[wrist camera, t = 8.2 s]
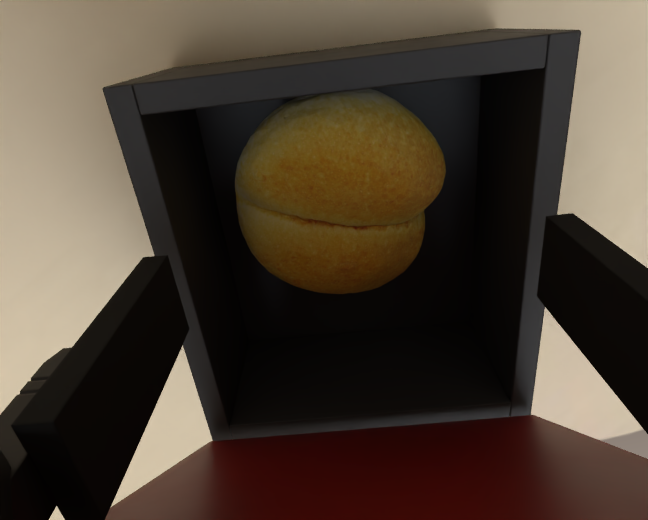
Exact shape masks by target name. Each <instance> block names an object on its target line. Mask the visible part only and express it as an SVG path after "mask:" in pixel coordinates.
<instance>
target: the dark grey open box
mask: <svg viewBox="0 0 648 520" xmlns="http://www.w3.org/2000/svg"><path fill="white" fill-rule="evenodd" d="M580 36H581V31H580V30H552V29H488V30H480V31H472V32H464V33H456V34H447V35H439V36H431V37H423V38H415V39H406V40H398V41H390V42H382V43H374V44H365V45H357V46H349V47H341V48H333V49H324V50H316V51H308V52H300V53H291V54H283V55H275V56H267V57H259V58H250V59H242V60H234V61H226V62H218V63H209V64H201V65H193V66H185V67H177V68H171V69H167V70H163V71H160V72H156V73H153V74H149V75H145V76H142V77H138V78H135V79H131V80H128V81H124V82H121V83H117V84H114V85H110V86H107V87H104V88H103V92H104V95H105V98H106V102H107V105H108V108H109V111H110V114H111V118H112V121H113V124H114V127H115V130H116V133H117V137H118V140H119V143H120V146H121V149H122V153H123V156H124V159H125V162H126V165H127V168H128V172H129V175H130V178H131V181H132V184H133V188H134V191H135V194H136V197H137V200H138V204H139V207H140V210H141V213H142V216H143V219H144V223H145V226H146V229H147V232H148V235H149V239H150V242H151V245H152V248H153V251H154V255H155V256H163V255H168V258H169V261H170V264H171V268H172V271H173V275H174V278H175V281H176V285H177V288H178V292H179V295H180V298H181V302H182V305H183V308H184V312H185V315H186V319H187V322H188V325H189V332H188V334H187V336H186V338H185V341H184V343H183V347H184V350H185V353H186V356H187V360H188V363H189V366H190V369H191V372H192V376H193V379H194V382H195V385H196V388H197V391H198V395H199V398H200V401H201V404H202V407H203V411H204V414H205V417H206V420H207V423H208V427H209V430H210V433H211V436H212V439H213V441H220V440H232V439H244V438H256V437H269V436H281V435H293V434H305V433H318V432H330V431H342V430H354V429H366V428H379V427H391V426H403V425H415V424H428V423H440V422H452V421H464V420H477V419H489V418H501V417H509V416H510V417H513V416H526V415H531V407H532V400H533V392H534V385H535V377H536V369H537V362H538V354H539V347H540V339H541V331H542V324H543V316H544V309H545V306H544V305H543V303H542V302H541V301H540V300H539V298H538V297H537V290H538V281H539V272H540V264H541V255H542V246H543V238H544V229H545V220H546V216H552V215H557V210H558V203H559V195H560V188H561V180H562V172H563V165H564V157H565V150H566V142H567V134H568V127H569V119H570V112H571V104H572V97H573V89H574V81H575V74H576V66H577V59H578V51H579V44H580ZM362 89H372V90H376V91H379V92H381V93H383V94H385V95H387V96H389V97H391V98H392V99H394V100H396V101H398V102H399V103H400V104H401V105H403V106H404V107H405V108H407V109H408V110H409V111H411V112H412V113H413V114H414V115H415V116H417V117H418V118H419V119H420V120H421V121H422V123H423V124H424V125H425V126H426V127H427V129H428V130H429V131H430V132H431V133H432V135H433V136H434V137H435V139H436V141H437V143H438V144H439V146H440V148H441V150H442V153H443V155H444V160H445V168H446V174H445V178H444V182H443V186H442V189H441V191H440V192H439V194H438V196H437V197H436V198H435V200H434V201H433V202H432V203H431V204H430V205H429V206H428V207H427V208H426V209H424V214H425V231H424V236H423V240H422V244H421V247H420V250H419V252H418V254H417V256H416V258H415V259H414V260H413V262H412V263H411V264H410V266H409V267H408V268H407V269H406V270H405V271H404V272H403V273H401V274H400V275H399V276H397V277H396V278H394V279H393V280H391V281H389V282H387V283H386V284H384V285H382V286H380V287H378V288H375V289H372V290H368V291H363V292H358V293H347V294H330V293H319V292H314V291H310V290H306V289H302V288H299V287H296V286H293V285H291V284H289V283H287V282H285V281H283V280H281V279H279V278H278V277H276V276H275V275H273V274H271V273H270V272H268V270H267V269H266V268H265V267H264V266H263V265H262V264H261V263H260V262H259V261H258V260H257V259H256V257H255V256H254V255H253V254H252V252H251V250H250V249H249V247H248V245H247V242H246V240H245V238H244V236H243V234H242V231H241V228H240V225H239V219H238V213H237V203H236V192H235V175H236V169H237V163H238V160H239V158H240V156H241V153H242V151H243V149H244V147H245V146H246V144H247V142H248V140H249V138H250V136H252V134H253V133H254V132H255V130H256V129H257V127H258V126H259V125H260V123H261V122H262V121H263V120H265V118H266V117H268V116H269V115H270V114H271V113H272V112H273V111H275V110H276V109H277V108H279V107H280V106H281V105H283V104H285V103H287V102H288V101H290V100H292V99H295V98H297V97H302V96H311V95H320V94H328V93H337V92H345V91H354V90H362Z"/></svg>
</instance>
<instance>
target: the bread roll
mask: <svg viewBox="0 0 648 520" xmlns="http://www.w3.org/2000/svg"><path fill="white" fill-rule="evenodd" d="M445 174H446V168H445V160H444V155H443V153H442V150H441V148H440V146H439V144H438V143H437V141H436V139H435V137H434V136H433V135H432V133H431V132H430V131H429V130H428V129H427V127H426V126H425V125H424V124H423V123H422V121H421V120H420V119H419V118H418V117H417V116H415V115H414V114H413V113H412V112H411V111H409V110H408V109H407V108H405V107H404V106H403V105H401V104H400V103H399V102H398V101H396V100H394V99H392V98H391V97H389V96H387V95H385V94H383V93H381V92H379V91H376V90H372V89H362V90H354V91H345V92H337V93H328V94H320V95H311V96H302V97H297V98H295V99H292V100H290V101H288V102H287V103H285V104H283V105H281V106H280V107H279V108H277V109H276V110H275V111H273V112H272V113H271V114H270V115H269V116H268V117H266V118H265V120H263V121H262V122H261V123H260V125H259V126H258V127H257V129H256V130H255V132H254V133H253V134H252V136H250V138H249V140H248V142H247V144H246V146H245V147H244V149H243V151H242V153H241V156H240V158H239V160H238V163H237V169H236V175H235V192H236V203H237V213H238V219H239V225H240V228H241V231H242V234H243V236H244V238H245V240H246V242H247V245H248V247H249V249H250V250H251V252H252V254H253V255H254V256H255V257H256V259H257V260H258V261H259V262H260V263H261V264H262V265H263V266H264V267H265V268H266V269H267V270H268V272H270V273H271V274H273V275H275V276H276V277H278V278H279V279H281V280H283V281H285V282H287V283H289V284H291V285H293V286H296V287H299V288H302V289H306V290H310V291H314V292H319V293H330V294H347V293H358V292H363V291H368V290H372V289H375V288H378V287H380V286H382V285H384V284H386V283H387V282H389V281H391V280H393V279H394V278H396V277H397V276H399V275H400V274H401V273H403V272H404V271H405V270H406V269H407V268H408V267H409V266H410V264H411V263H412V262H413V260H414V259H415V258H416V256H417V254H418V252H419V250H420V247H421V244H422V240H423V236H424V231H425V214H424V209H426V208H427V207H428V206H429V205H430V204H431V203H432V202H433V201H434V200H435V198H436V197H437V196H438V194H439V192H440V191H441V189H442V186H443V182H444V178H445Z"/></svg>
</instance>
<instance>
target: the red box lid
mask: <svg viewBox="0 0 648 520" xmlns="http://www.w3.org/2000/svg"><path fill="white" fill-rule="evenodd" d="M105 520H648V459H647V458H644V457H641V456H639V455H636V454H634V453H631V452H628V451H626V450H623V449H620V448H618V447H615V446H613V445H610V444H607V443H605V442H602V441H600V440H597V439H594V438H592V437H589V436H587V435H584V434H581V433H579V432H576V431H574V430H571V429H568V428H566V427H563V426H561V425H558V424H555V423H553V422H550V421H548V420H545V419H542V418H540V417H537V416H535V415H526V416H513V417H501V418H489V419H477V420H464V421H452V422H440V423H428V424H415V425H403V426H391V427H379V428H366V429H354V430H342V431H330V432H318V433H305V434H293V435H281V436H269V437H256V438H244V439H232V440H220V441H211V442H209V443H207V444H206V445H204V446H203V447H201V448H200V449H198V450H197V451H195V452H194V453H192V454H191V455H189V456H188V457H186V458H185V459H183V460H182V461H180V462H179V463H177V464H176V465H174V466H173V467H171V468H170V469H168V470H167V471H165V472H164V473H162V474H161V475H159V476H158V477H156V478H155V479H153V480H152V481H150V482H149V483H147V484H146V485H144V486H143V487H141V488H140V489H138V490H136V491H135V492H133V493H132V494H130V495H129V496H127V497H126V498H124V499H123V500H121V501H120V502H118V503H117V504H115V505H114V506H112V507H111V508H110V509H109V512H108V514H107V516H106V518H105Z"/></svg>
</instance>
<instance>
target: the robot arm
mask: <svg viewBox="0 0 648 520" xmlns="http://www.w3.org/2000/svg"><path fill="white" fill-rule="evenodd" d="M537 297H538V298H539V300H540V301H541V302H542V303H543V305H544V306H545V307H546V308H547V310H548V311H549V312H550V313H551V315H552V316H553V317H554V318H555V319H556V321H557V322H558V323H559V324H560V326H561V327H562V328H563V329H564V331H565V332H566V333H567V334H568V336H569V337H570V338H571V339H572V341H573V342H574V343H575V344H576V346H577V347H578V348H579V349H580V351H581V352H582V353H583V354H584V355H585V357H586V358H587V359H588V360H589V362H590V363H591V364H592V365H593V367H594V368H595V369H596V370H597V372H598V373H599V374H600V375H601V377H602V378H603V379H604V380H605V382H606V383H607V384H608V385H609V386H610V388H611V389H612V390H613V391H614V393H615V394H616V395H617V396H618V398H619V399H620V400H621V401H622V403H623V404H624V405H625V406H626V408H627V409H628V410H629V411H630V413H631V414H632V415H633V416H634V418H635V419H636V420H637V421H638V422H639V424H640V425H641V426H642V427H643V429H644V430H645V431H646V432H647V434H648V268H647V267H645V266H644V265H642V264H641V263H640V262H638V261H637V260H636V259H634V258H633V257H632V256H630V255H629V254H627V253H626V252H625V251H623V250H622V249H621V248H619V247H618V246H616V245H615V244H614V243H612V242H611V241H610V240H608V239H607V238H606V237H604V236H603V235H601V234H600V233H599V232H597V231H596V230H595V229H593V228H592V227H591V226H589V225H588V224H586V223H585V222H584V221H582V220H581V219H580V218H578V217H577V216H575V215H574V214H573V213H571V214H562V215H552V216H546V220H545V229H544V238H543V246H542V255H541V264H540V272H539V281H538V290H537ZM188 332H189V325H188V322H187V319H186V315H185V312H184V308H183V305H182V302H181V298H180V295H179V292H178V288H177V285H176V281H175V278H174V275H173V271H172V268H171V264H170V261H169V258H168V255H163V256H153V257H143V258H142V260H141V261H140V262H139V264H138V265H137V266H136V267H135V269H134V270H133V271H132V272H131V274H130V275H129V276H128V277H127V279H126V280H125V281H124V283H123V284H122V285H121V286H120V288H119V289H118V290H117V291H116V293H115V294H114V295H113V296H112V298H111V299H110V300H109V302H108V303H107V304H106V305H105V307H104V308H103V309H102V310H101V312H100V313H99V314H98V315H97V317H96V318H95V319H94V321H93V322H92V323H91V324H90V326H89V327H88V328H87V329H86V331H85V332H84V333H83V334H82V336H81V337H80V338H79V340H78V341H77V342H76V343H75V345H74V346H73V347H72V348H64V349H62V350H61V351H59V352H58V353H57V354H55V355H54V356H53V357H51V358H50V359H48V360H47V361H46V362H44V363H43V365H42V366H41V367H40V368H39V369H38V371H37V372H36V373H35V374H34V375H33V376H32V378H31V381H29V382H27V384H26V385H25V386H24V387H23V388H22V390H21V391H20V395H17V396H16V397H15V398H14V399H13V400H12V402H11V403H10V404H9V405H8V406H7V408H6V409H5V410H4V411H3V412H2V413H1V415H0V520H49V518H50V516H51V515H52V513H53V511H54V509H55V507H56V506H57V507H58V508H59V510H60V512H61V514H62V515H63V517H64V519H65V520H105V518H106V516H107V514H108V512H109V509H110V507H111V505H112V503H113V500H114V498H115V496H116V494H117V491H118V489H119V487H120V485H121V482H122V480H123V478H124V476H125V473H126V471H127V469H128V467H129V464H130V462H131V460H132V458H133V455H134V453H135V451H136V449H137V446H138V444H139V442H140V440H141V437H142V435H143V433H144V431H145V428H146V426H147V424H148V422H149V419H150V417H151V415H152V413H153V410H154V408H155V406H156V404H157V401H158V399H159V397H160V395H161V392H162V390H163V388H164V386H165V383H166V381H167V379H168V377H169V374H170V372H171V370H172V368H173V365H174V363H175V361H176V359H177V356H178V354H179V352H180V350H181V347H182V345H183V343H184V341H185V338H186V336H187V334H188Z"/></svg>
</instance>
